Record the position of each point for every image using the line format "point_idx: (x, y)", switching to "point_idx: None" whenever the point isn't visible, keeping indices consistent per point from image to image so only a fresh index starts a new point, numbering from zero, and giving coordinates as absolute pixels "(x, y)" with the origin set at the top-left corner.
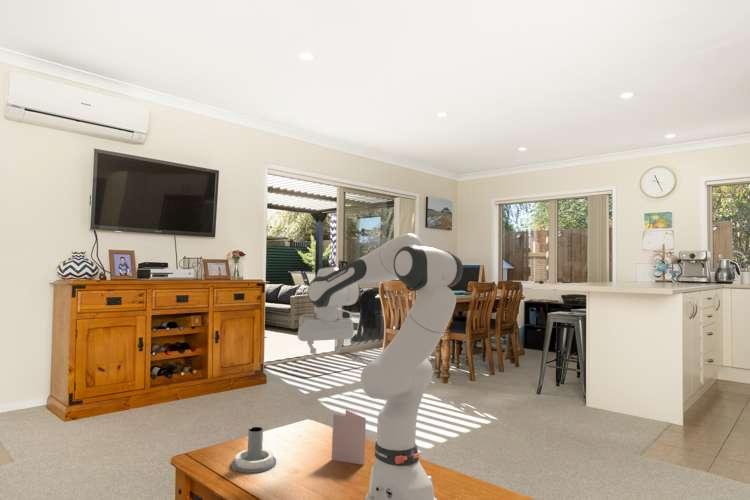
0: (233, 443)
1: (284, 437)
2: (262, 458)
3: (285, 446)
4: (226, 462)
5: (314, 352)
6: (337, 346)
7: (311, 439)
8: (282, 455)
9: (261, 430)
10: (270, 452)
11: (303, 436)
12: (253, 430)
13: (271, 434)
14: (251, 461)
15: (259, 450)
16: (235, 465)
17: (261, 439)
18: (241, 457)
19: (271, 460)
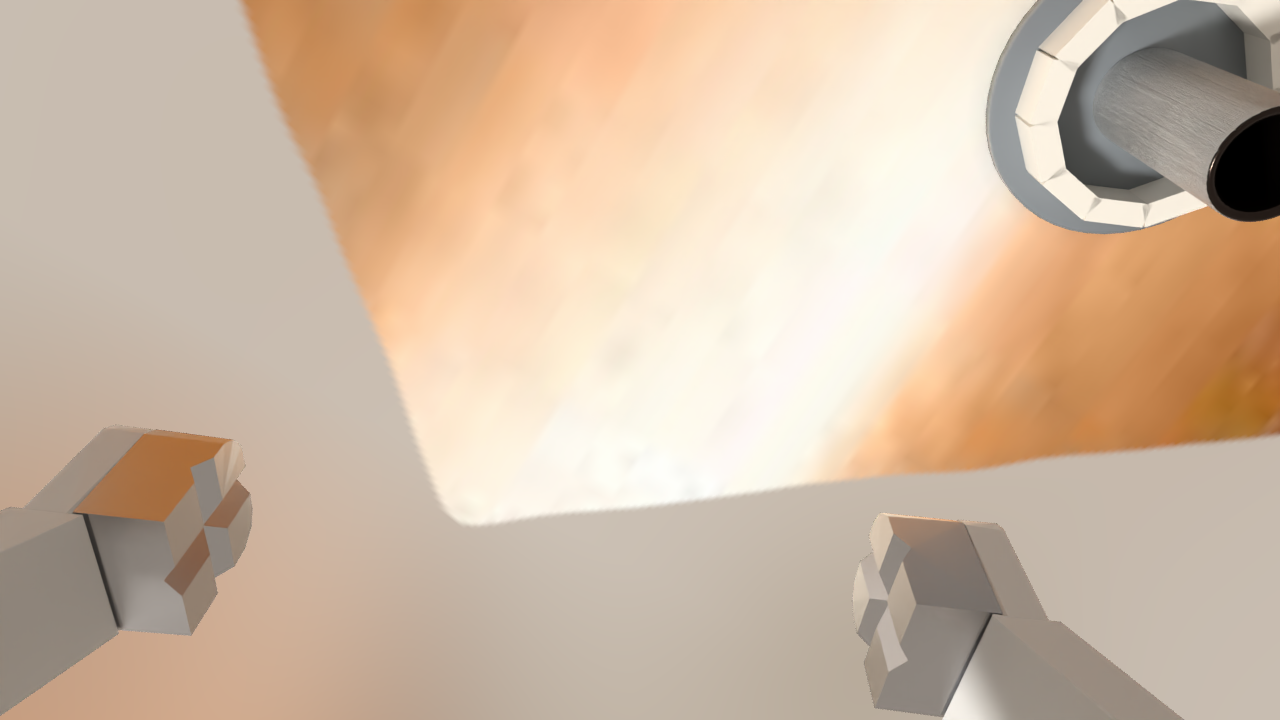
0: (1008, 440)
1: (717, 377)
2: (1068, 114)
3: (796, 249)
4: None
5: (941, 528)
6: (105, 603)
7: (589, 265)
8: (902, 124)
9: (1261, 112)
10: (1048, 94)
11: (607, 334)
12: (1238, 203)
13: (755, 452)
14: (1259, 12)
15: (1190, 67)
16: None
17: (1213, 93)
18: None
19: (1089, 5)
